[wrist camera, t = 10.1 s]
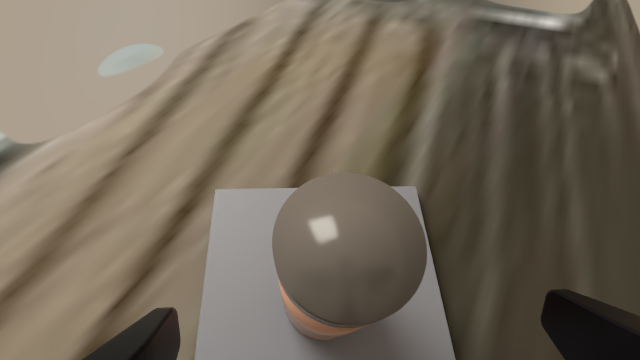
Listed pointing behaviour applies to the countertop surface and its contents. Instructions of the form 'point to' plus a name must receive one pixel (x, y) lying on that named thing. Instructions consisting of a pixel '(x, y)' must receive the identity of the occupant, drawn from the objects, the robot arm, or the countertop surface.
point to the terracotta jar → (346, 254)
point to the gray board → (267, 305)
